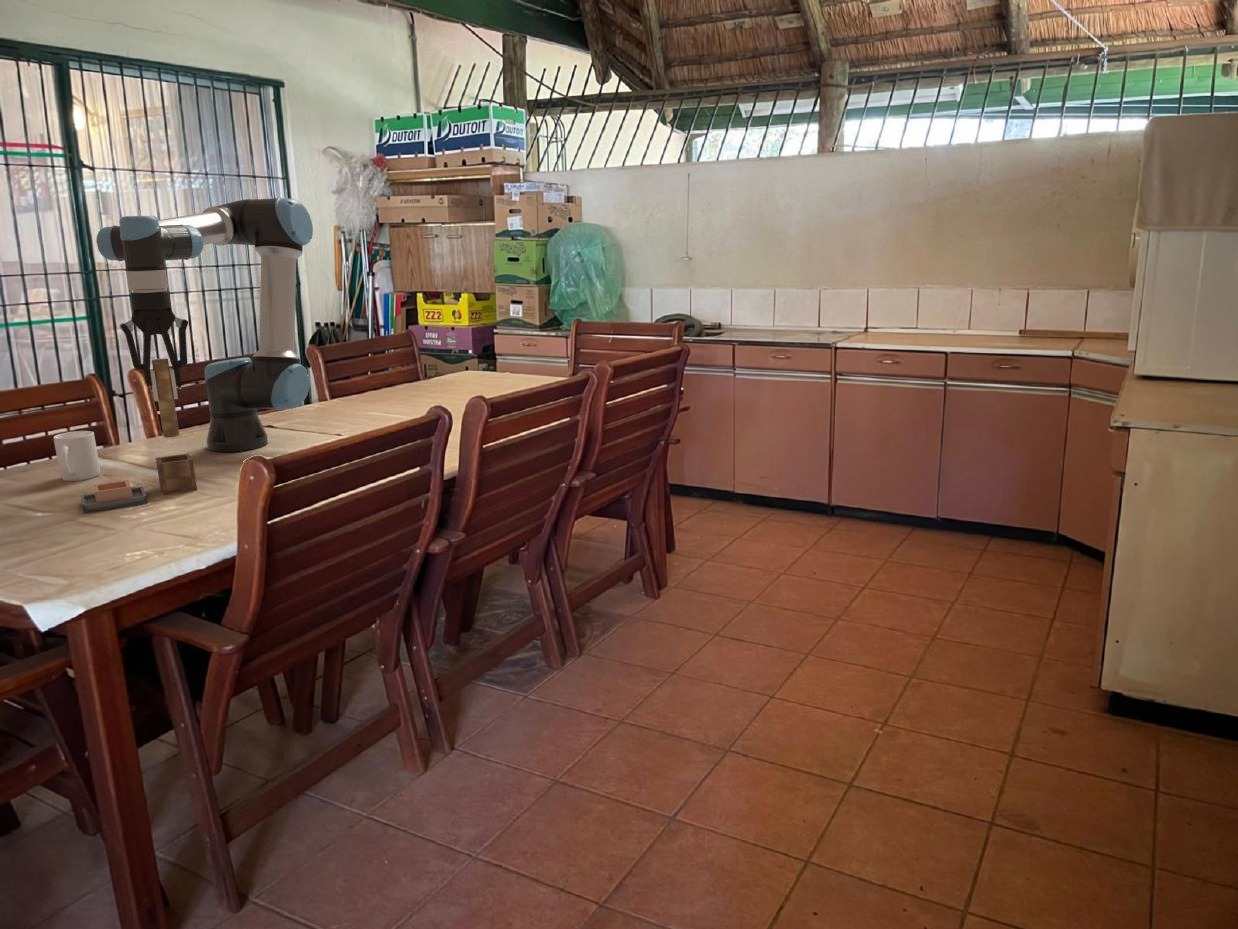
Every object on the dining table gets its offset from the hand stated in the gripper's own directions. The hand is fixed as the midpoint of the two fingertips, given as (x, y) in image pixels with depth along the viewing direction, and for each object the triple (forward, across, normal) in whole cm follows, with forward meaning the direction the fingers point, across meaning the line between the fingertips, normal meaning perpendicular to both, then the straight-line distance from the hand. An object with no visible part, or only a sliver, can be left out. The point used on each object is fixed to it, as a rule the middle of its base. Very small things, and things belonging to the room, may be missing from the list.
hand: (165, 398), depth 202 cm
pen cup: (+20, 0, 0) cm, 20 cm away
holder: (+20, +13, +4) cm, 24 cm away
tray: (+20, +13, +4) cm, 25 cm away
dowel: (+8, 0, 0) cm, 8 cm away
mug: (+21, +19, -24) cm, 37 cm away
